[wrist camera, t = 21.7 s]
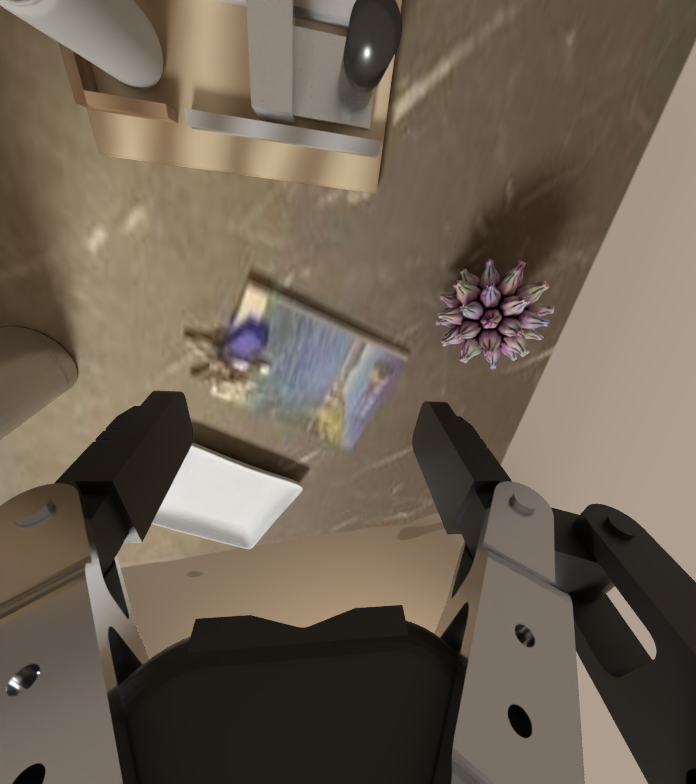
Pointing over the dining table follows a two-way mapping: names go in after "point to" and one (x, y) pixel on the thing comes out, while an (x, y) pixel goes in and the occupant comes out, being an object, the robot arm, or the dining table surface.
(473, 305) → the flower
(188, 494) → the salad plate
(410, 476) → the dining table surface
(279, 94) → the press block
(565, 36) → the dining table surface
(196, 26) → the wooden tray
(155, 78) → the beverage can
